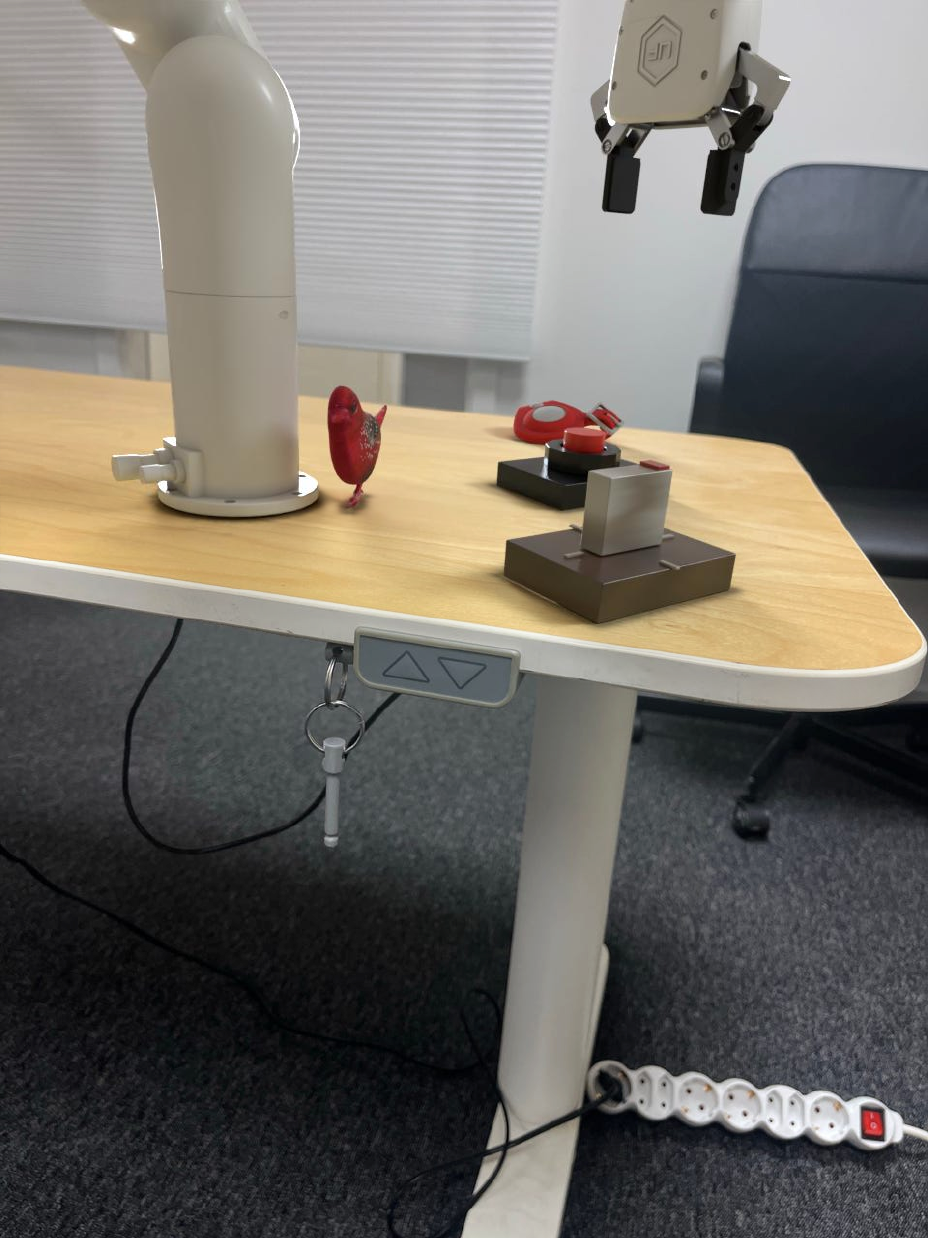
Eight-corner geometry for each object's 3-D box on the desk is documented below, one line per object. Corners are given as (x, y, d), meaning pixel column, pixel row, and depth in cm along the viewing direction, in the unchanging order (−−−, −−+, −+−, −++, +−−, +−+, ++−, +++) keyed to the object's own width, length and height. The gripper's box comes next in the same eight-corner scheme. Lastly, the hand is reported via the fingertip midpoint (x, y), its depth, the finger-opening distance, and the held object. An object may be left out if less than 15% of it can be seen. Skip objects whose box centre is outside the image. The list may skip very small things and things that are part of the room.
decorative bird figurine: (314, 525, 66) (312, 388, 62) (369, 471, 82) (371, 360, 78) (351, 529, 66) (352, 391, 62) (400, 474, 82) (403, 362, 78)
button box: (561, 511, 74) (566, 463, 72) (495, 485, 80) (498, 441, 79) (661, 495, 80) (667, 451, 79) (592, 472, 87) (597, 431, 85)
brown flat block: (601, 626, 52) (607, 583, 51) (499, 574, 59) (502, 535, 58) (734, 591, 58) (741, 552, 57) (628, 548, 65) (633, 513, 64)
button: (581, 457, 77) (583, 436, 76) (554, 448, 79) (556, 428, 79) (611, 453, 79) (614, 433, 78) (584, 445, 81) (586, 426, 81)
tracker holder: (526, 436, 96) (498, 398, 103) (529, 472, 98) (501, 432, 106) (631, 411, 97) (595, 376, 105) (630, 447, 100) (595, 410, 108)
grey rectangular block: (601, 556, 55) (611, 474, 53) (579, 547, 57) (588, 466, 55) (662, 544, 58) (673, 465, 56) (639, 535, 60) (650, 458, 58)
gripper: (573, -50, 65) (551, 208, 71) (778, -109, 52) (727, 211, 59) (643, -27, 69) (616, 215, 76) (847, -76, 57) (793, 219, 63)
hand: (665, 213), depth 67 cm, fingers open, 9 cm apart
